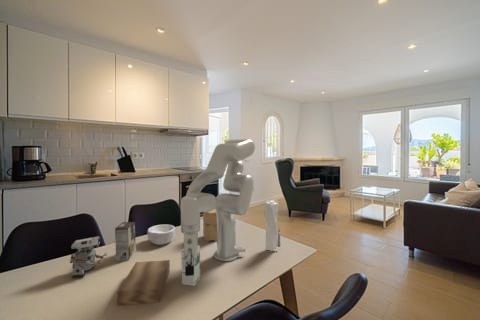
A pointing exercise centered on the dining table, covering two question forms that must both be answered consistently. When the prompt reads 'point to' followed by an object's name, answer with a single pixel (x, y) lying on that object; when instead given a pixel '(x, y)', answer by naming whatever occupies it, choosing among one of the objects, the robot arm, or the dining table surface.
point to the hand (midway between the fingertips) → (190, 268)
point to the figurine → (84, 255)
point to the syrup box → (196, 262)
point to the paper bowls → (161, 234)
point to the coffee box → (125, 241)
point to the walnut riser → (144, 283)
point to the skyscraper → (272, 225)
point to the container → (210, 225)
